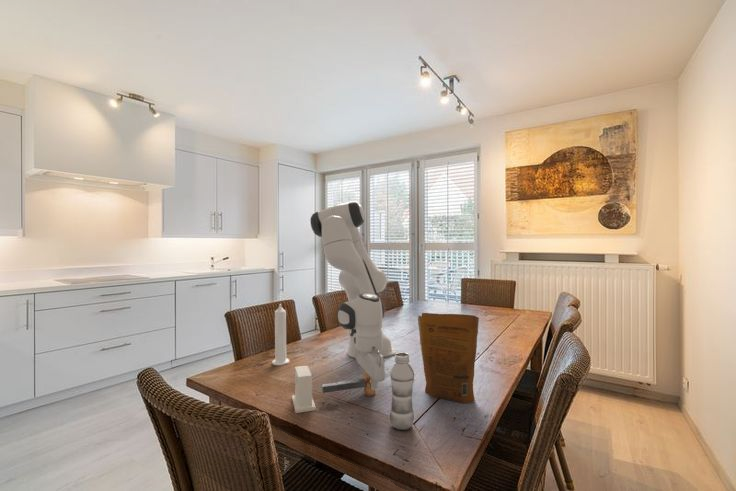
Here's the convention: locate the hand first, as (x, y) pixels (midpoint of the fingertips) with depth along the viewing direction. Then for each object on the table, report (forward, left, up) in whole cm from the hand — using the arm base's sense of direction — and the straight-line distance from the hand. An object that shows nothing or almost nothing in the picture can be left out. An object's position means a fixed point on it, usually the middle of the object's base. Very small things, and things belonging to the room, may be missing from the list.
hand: (369, 384), depth 116 cm
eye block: (+22, 0, -3) cm, 22 cm away
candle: (+26, -40, -4) cm, 48 cm away
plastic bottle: (-2, +22, -4) cm, 22 cm away
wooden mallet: (+7, 0, -3) cm, 8 cm away
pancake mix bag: (-23, +11, -4) cm, 26 cm away
